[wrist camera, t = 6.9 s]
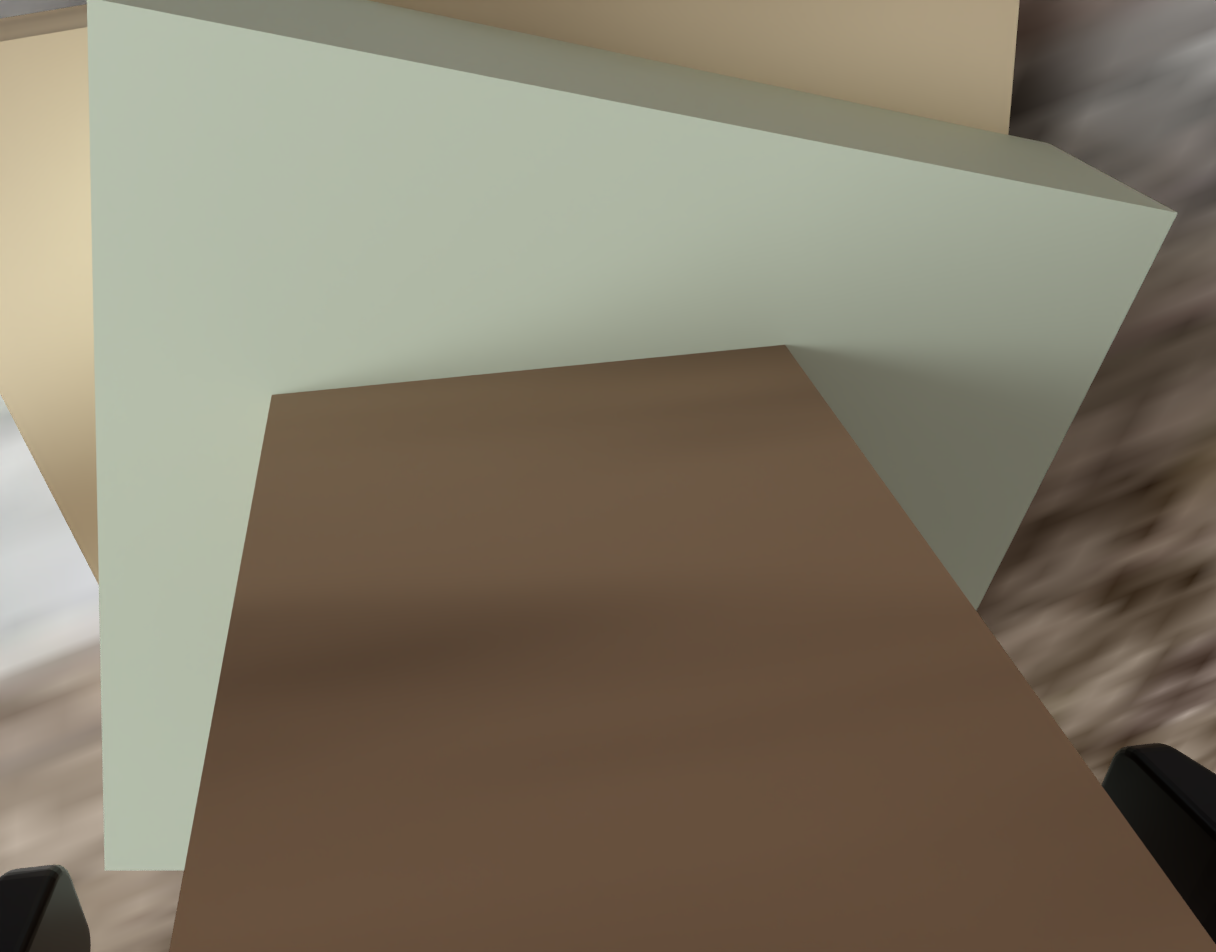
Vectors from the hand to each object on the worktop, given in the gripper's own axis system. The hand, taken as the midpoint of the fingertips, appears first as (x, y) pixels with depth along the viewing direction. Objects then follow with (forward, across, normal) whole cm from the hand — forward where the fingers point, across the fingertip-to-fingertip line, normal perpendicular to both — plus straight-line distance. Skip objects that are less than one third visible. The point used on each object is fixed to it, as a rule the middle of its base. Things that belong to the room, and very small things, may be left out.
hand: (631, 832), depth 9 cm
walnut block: (+3, 0, 0) cm, 3 cm away
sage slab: (+6, 0, 0) cm, 6 cm away
